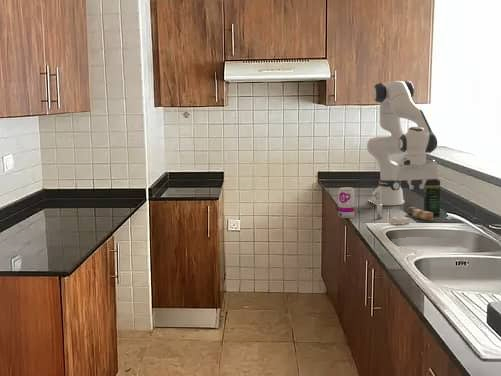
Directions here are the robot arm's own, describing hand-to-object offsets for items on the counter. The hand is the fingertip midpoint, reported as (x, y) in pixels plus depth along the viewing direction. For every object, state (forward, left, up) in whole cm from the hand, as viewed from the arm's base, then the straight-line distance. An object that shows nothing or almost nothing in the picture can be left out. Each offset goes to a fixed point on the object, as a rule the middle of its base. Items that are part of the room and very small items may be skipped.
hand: (416, 188), depth 282 cm
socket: (+4, -12, -15) cm, 20 cm away
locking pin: (-12, -13, -15) cm, 23 cm away
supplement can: (-24, -25, -15) cm, 38 cm away
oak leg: (-3, +4, -15) cm, 16 cm away
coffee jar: (-10, +17, -15) cm, 25 cm away
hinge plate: (-4, +4, -15) cm, 16 cm away
